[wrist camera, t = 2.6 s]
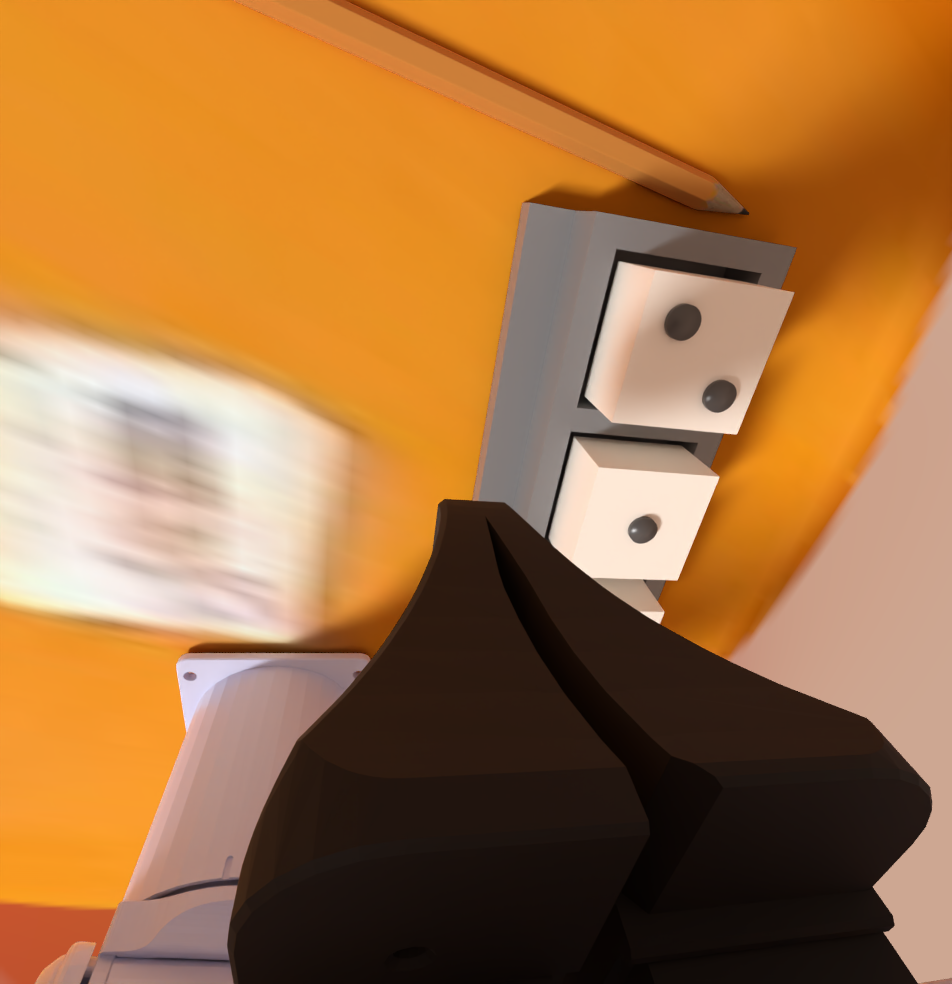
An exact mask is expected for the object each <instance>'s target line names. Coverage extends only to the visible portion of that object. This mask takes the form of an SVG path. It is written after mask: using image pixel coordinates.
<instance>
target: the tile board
mask: <svg viewBox="0 0 952 984" xmlns="http://www.w3.org/2000/svg"><path fill="white" fill-rule="evenodd" d="M795 252H796V247H790V246H785V245H779V244H774V243H768V242H763V241H757V240H752V239H746V238H741V237H735V236H730V235H724V234H719V233H713V232H708V231H703V230H697V229H692V228H686V227H681V226H675V225H670V224H664V223H659V222H653V221H648V220H642V219H637V218H631V217H626V216H620V215H615V214H609V213H604V212H598V211H575V210H569V209H564V208H558V207H553V206H547V205H542V204H536V203H530V202H527V203H522V208H521V214H520V220H519V226H518V232H517V238H516V244H515V250H514V256H513V262H512V268H511V274H510V280H509V286H508V292H507V298H506V303H505V309H504V315H503V321H502V327H501V333H500V339H499V345H498V351H497V357H496V363H495V369H494V375H493V381H492V387H491V393H490V399H489V405H488V411H487V417H486V423H485V429H484V435H483V441H482V447H481V452H480V458H479V464H478V470H477V476H476V482H475V488H474V494H473V500H472V501H489V502H505V503H506V504H507V505H509V506H510V507H511V508H512V509H513V510H514V511H515V512H517V513H518V514H519V515H520V516H521V517H522V518H523V519H524V520H525V521H526V522H527V523H528V524H530V525H531V526H532V527H533V528H534V529H535V530H536V531H537V532H538V533H539V534H540V535H541V536H542V537H544V538H545V539H546V540H547V541H548V542H549V543H550V544H551V542H550V540H549V537H548V535H549V531H550V527H551V523H552V519H553V516H554V512H555V508H556V504H557V500H558V496H559V492H560V488H561V484H562V480H563V476H564V472H565V468H566V464H567V460H568V456H569V452H570V448H571V444H572V440H573V437H574V436H579V437H590V438H601V439H613V440H624V441H635V442H646V443H658V444H669V445H680V446H683V447H684V448H685V449H686V450H688V451H689V452H690V453H691V454H693V455H694V456H695V457H696V458H697V459H699V460H700V461H701V462H702V463H704V464H705V465H706V466H707V467H708V468H710V467H711V465H712V462H713V460H714V457H715V455H716V452H717V449H718V447H719V444H720V442H721V439H722V437H723V434H724V433H715V432H705V431H694V430H684V429H673V428H663V427H652V426H642V425H632V424H621V423H612V422H611V421H610V420H609V419H608V418H606V417H605V416H604V415H603V414H602V413H601V412H600V411H599V410H598V409H597V408H596V407H595V406H594V405H593V404H592V403H591V402H590V401H589V400H588V399H587V398H586V397H585V396H584V393H585V389H586V385H587V381H588V377H589V373H590V369H591V365H592V362H593V358H594V354H595V350H596V346H597V342H598V338H599V334H600V330H601V326H602V322H603V318H604V314H605V310H606V306H607V302H608V298H609V294H610V290H611V286H612V283H613V279H614V275H615V271H616V267H617V263H618V261H622V262H628V263H634V264H640V265H646V266H652V267H658V268H665V269H671V270H677V271H683V272H689V273H695V274H701V275H707V276H714V277H720V278H726V279H732V280H738V281H743V282H748V283H753V284H757V285H762V286H767V287H771V288H776V289H781V287H782V285H783V282H784V280H785V277H786V275H787V272H788V269H789V267H790V264H791V262H792V259H793V257H794V254H795ZM551 545H552V544H551ZM643 581H644V582H645V584H646V585H647V587H648V588H649V590H650V591H651V593H652V594H653V596H654V597H655V598H656V600H657V601H658V599H659V597H660V594H661V592H662V589H663V586H664V584H665V581H666V580H647V579H643Z"/></svg>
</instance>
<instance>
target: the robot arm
mask: <svg viewBox="0 0 952 984" xmlns="http://www.w3.org/2000/svg"><path fill="white" fill-rule="evenodd" d="M176 669H177V675H178V682H179V688H180V694H181V701H182V707H183V713H184V720H185V726H186V733H187V734H186V736H185V739H184V741H183V744H182V747H181V749H180V752H179V755H178V757H177V760H176V762H175V765H174V768H173V770H172V773H171V776H170V778H169V781H168V783H167V786H166V789H165V791H164V794H163V796H162V799H161V802H160V804H159V807H158V810H157V812H156V815H155V817H154V820H153V823H152V825H151V828H150V831H149V833H148V836H147V838H146V841H145V844H144V846H143V849H142V852H141V854H140V857H139V859H138V862H137V865H136V867H135V870H134V873H133V875H132V878H131V880H130V883H129V886H128V888H127V891H126V894H125V896H124V899H123V901H122V902H120V903H119V904H118V907H117V909H116V912H115V914H114V917H113V920H112V922H111V925H110V927H109V930H108V932H107V935H106V937H105V940H104V943H103V945H102V947H101V950H100V952H99V955H98V957H95V956H92V953H93V951H94V948H95V945H96V943H94V942H82V941H80V942H76V943H74V944H73V945H72V946H71V947H70V949H69V951H68V952H67V954H66V955H62V956H61V957H59V958H58V959H56V960H55V961H54V962H53V963H52V964H50V965H49V966H47V967H46V968H45V969H44V970H43V971H42V972H41V974H40V976H39V977H38V979H37V981H36V983H35V984H952V978H950V979H944V980H937V981H931V982H924V983H917V982H916V980H915V979H914V977H913V976H912V974H911V973H910V971H909V970H908V968H907V967H906V965H905V964H904V962H903V961H902V960H901V958H900V957H899V955H898V953H897V952H896V950H895V949H894V948H893V946H892V945H891V943H890V942H889V940H888V939H887V937H886V936H885V935H884V933H883V932H886V931H889V930H890V929H891V928H893V927H894V920H893V915H892V914H891V913H890V912H889V910H888V908H887V907H886V906H885V904H884V903H883V901H882V900H881V898H880V897H879V896H878V894H877V893H876V891H875V890H874V888H873V885H874V884H875V883H876V882H877V881H878V880H879V879H880V878H881V877H882V876H883V875H884V874H885V873H886V872H887V871H888V870H889V868H890V867H891V866H892V865H893V864H894V863H895V862H896V861H897V860H898V859H899V858H900V857H901V856H902V855H903V853H905V851H906V850H907V849H908V848H909V847H910V846H911V845H912V844H913V843H914V841H915V840H916V839H917V838H918V836H919V835H920V834H921V832H922V831H923V830H924V828H925V827H926V825H927V822H928V819H929V817H930V813H931V811H932V799H931V790H930V787H929V785H928V784H927V783H926V782H925V781H924V780H923V779H922V778H921V777H920V776H919V774H918V773H917V772H916V771H915V770H914V769H913V768H912V767H911V766H910V764H909V763H908V762H907V761H906V760H905V759H904V758H903V757H902V756H901V754H900V753H899V752H898V751H897V750H896V749H895V748H894V747H893V746H892V744H891V743H890V742H889V741H888V740H887V739H886V738H885V737H884V736H883V734H882V733H881V732H880V731H879V730H878V729H877V728H876V727H875V726H874V725H873V724H872V723H871V721H869V720H868V719H867V718H865V717H862V716H860V715H857V714H854V713H852V712H849V711H847V710H844V709H842V708H839V707H836V706H834V705H831V704H828V703H826V702H824V701H821V700H818V699H816V698H813V697H811V696H808V695H806V694H803V693H800V692H798V691H795V690H792V689H790V688H788V687H785V686H783V685H780V684H778V683H776V682H773V681H771V680H769V679H767V678H765V677H762V676H760V675H758V674H756V673H753V672H751V671H749V670H747V669H745V668H743V667H740V666H738V665H736V664H733V663H732V662H730V661H728V660H726V659H724V658H722V657H720V656H718V655H716V654H714V653H712V652H710V651H708V650H706V649H704V648H702V647H700V646H698V645H696V644H694V643H693V642H691V641H689V640H687V639H685V638H684V637H682V636H680V635H678V634H676V633H674V632H673V631H671V630H669V629H667V628H665V627H664V626H662V625H660V624H659V623H657V622H655V621H654V620H652V619H650V618H649V617H647V616H646V615H644V614H642V613H641V612H639V611H638V610H636V609H635V608H633V607H632V606H630V605H629V604H627V603H626V602H624V601H623V600H621V599H620V598H618V597H617V596H615V595H614V594H612V593H611V592H610V591H608V590H607V589H605V588H604V587H603V586H601V585H600V584H599V583H597V582H596V581H595V580H594V579H592V578H591V577H590V576H589V575H587V574H586V573H585V572H583V571H582V570H581V569H580V568H578V567H577V566H576V565H575V564H573V563H572V562H571V561H570V560H569V559H567V558H566V557H565V556H564V555H563V554H562V553H560V552H559V551H558V550H557V549H556V548H555V547H554V546H552V545H551V544H550V543H549V542H548V541H547V540H546V539H545V538H544V537H542V536H541V535H540V534H539V533H538V532H537V531H536V530H535V529H534V528H533V527H532V526H531V525H530V524H528V523H527V522H526V521H525V520H524V519H523V518H522V517H521V516H520V515H519V514H518V513H517V512H515V511H514V510H513V509H512V508H511V507H510V506H509V505H507V504H506V503H505V502H489V501H470V500H451V499H444V500H443V501H442V502H440V503H439V504H438V511H437V519H436V527H435V536H434V544H433V552H432V555H431V558H430V560H429V562H428V565H427V567H426V570H425V572H424V574H423V577H422V579H421V581H420V583H419V585H418V587H417V589H416V591H415V593H414V595H413V597H412V599H411V601H410V602H409V604H408V606H407V608H406V609H405V611H404V613H403V615H402V616H401V618H400V619H399V621H398V622H397V624H396V625H395V627H394V628H393V630H392V632H391V633H390V635H389V636H388V638H387V639H386V640H385V642H384V643H383V645H382V646H381V647H380V649H379V650H378V651H377V653H376V654H375V655H374V656H373V658H372V659H371V660H370V658H369V656H368V655H366V654H362V653H187V654H184V655H182V656H181V657H180V658H179V660H178V662H177V665H176ZM356 671H361V672H359V673H358V672H356ZM189 672H193V673H195V674H192V673H189Z"/></svg>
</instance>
